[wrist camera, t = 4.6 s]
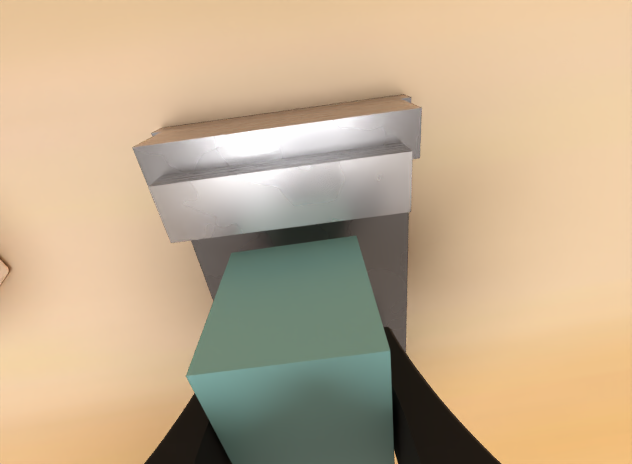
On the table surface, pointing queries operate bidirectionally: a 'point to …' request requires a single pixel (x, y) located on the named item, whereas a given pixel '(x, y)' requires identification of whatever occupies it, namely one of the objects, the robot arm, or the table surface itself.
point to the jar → (3, 271)
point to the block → (297, 358)
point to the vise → (293, 187)
